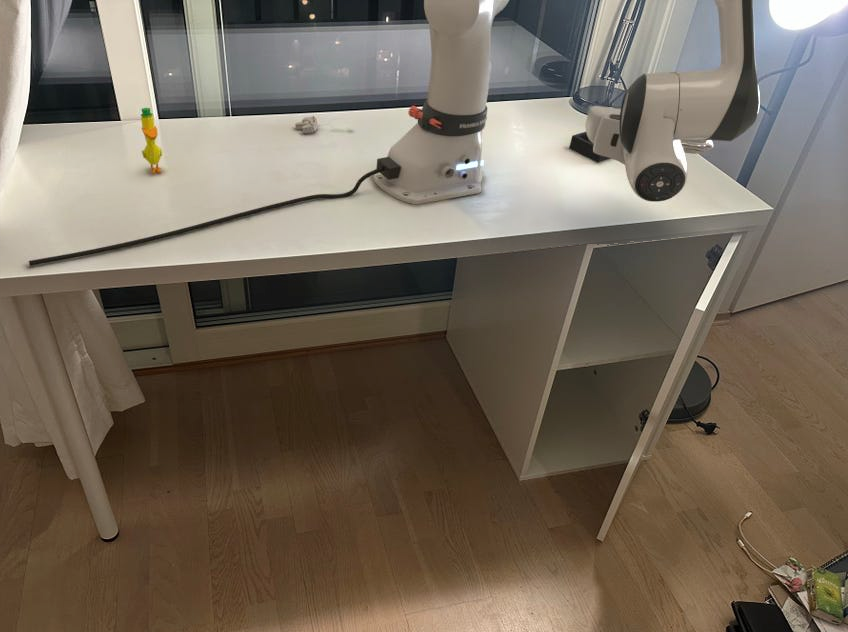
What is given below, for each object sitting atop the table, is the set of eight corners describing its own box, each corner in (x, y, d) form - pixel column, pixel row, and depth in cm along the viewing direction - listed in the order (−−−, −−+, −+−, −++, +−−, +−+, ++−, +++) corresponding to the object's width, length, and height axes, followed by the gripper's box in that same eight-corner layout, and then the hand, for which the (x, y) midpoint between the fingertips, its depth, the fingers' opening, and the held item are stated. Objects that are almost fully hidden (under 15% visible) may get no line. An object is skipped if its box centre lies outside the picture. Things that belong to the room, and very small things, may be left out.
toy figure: (168, 178, 133) (160, 116, 126) (149, 181, 132) (139, 118, 124) (161, 163, 138) (152, 102, 130) (142, 165, 137) (132, 104, 129)
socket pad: (642, 147, 157) (646, 134, 155) (597, 162, 150) (601, 149, 148) (613, 134, 162) (617, 122, 160) (568, 148, 155) (572, 135, 153)
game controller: (293, 125, 156) (292, 113, 154) (342, 121, 159) (343, 110, 157) (299, 135, 152) (299, 123, 150) (350, 131, 155) (350, 120, 153)
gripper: (722, 132, 114) (708, 102, 124) (593, 115, 116) (591, 87, 126) (707, 169, 118) (696, 137, 128) (583, 151, 120) (582, 121, 130)
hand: (642, 112), depth 127 cm, fingers closed on pill bottle, 5 cm apart
